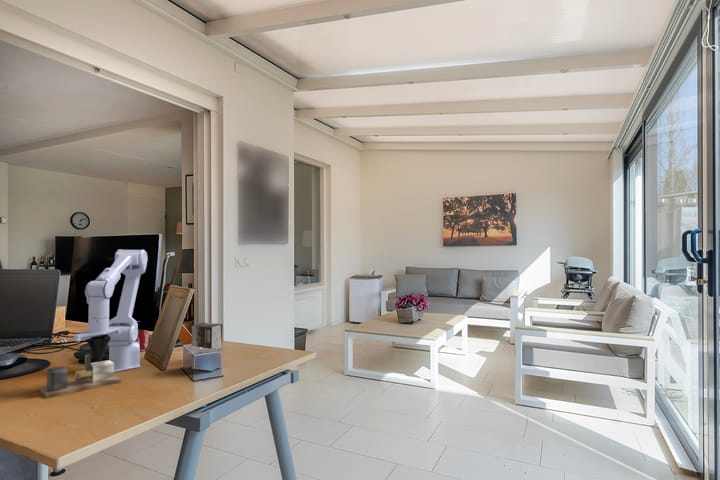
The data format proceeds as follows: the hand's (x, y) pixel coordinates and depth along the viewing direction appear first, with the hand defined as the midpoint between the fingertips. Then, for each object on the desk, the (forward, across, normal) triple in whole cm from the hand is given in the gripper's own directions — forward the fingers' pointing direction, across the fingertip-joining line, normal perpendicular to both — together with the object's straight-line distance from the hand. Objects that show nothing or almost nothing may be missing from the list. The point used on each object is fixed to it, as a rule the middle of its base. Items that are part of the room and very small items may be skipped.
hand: (98, 359), depth 137 cm
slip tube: (+6, +1, -1) cm, 6 cm away
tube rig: (+8, +4, -2) cm, 9 cm away
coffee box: (+8, -28, +20) cm, 35 cm away
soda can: (+8, -35, -24) cm, 43 cm away
